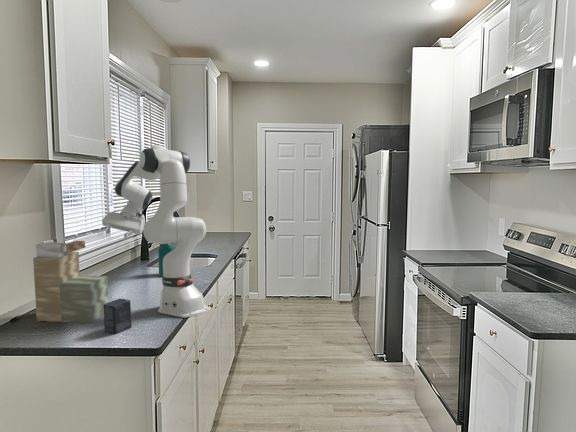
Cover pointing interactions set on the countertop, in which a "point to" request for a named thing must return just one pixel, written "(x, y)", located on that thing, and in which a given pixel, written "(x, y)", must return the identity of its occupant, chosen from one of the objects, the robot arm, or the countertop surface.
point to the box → (117, 316)
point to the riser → (67, 291)
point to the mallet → (58, 249)
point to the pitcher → (163, 255)
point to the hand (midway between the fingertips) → (116, 234)
